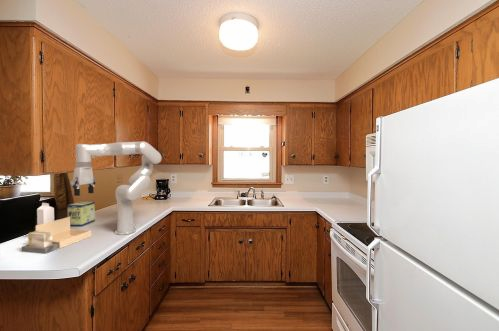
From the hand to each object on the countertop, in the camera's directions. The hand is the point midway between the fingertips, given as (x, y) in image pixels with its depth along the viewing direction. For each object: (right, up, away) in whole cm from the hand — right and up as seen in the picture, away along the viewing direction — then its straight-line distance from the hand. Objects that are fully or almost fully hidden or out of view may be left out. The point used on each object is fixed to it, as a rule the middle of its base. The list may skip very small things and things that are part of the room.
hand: (84, 194), depth 149 cm
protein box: (-29, -27, +42) cm, 57 cm away
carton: (-12, -28, +2) cm, 31 cm away
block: (-15, -26, -13) cm, 33 cm away
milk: (-27, -28, +7) cm, 40 cm away
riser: (-15, -29, -13) cm, 35 cm away
